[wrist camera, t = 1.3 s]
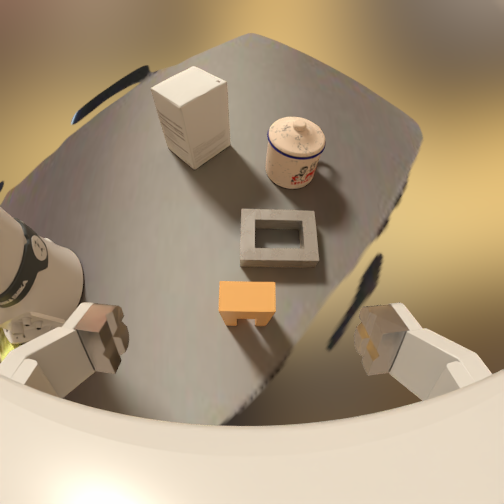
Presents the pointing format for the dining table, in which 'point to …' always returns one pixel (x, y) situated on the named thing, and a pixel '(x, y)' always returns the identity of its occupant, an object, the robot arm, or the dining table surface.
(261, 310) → the orange notched arch block
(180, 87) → the supplement box
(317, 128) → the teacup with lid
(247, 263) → the rectangular frame block
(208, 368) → the dining table surface
